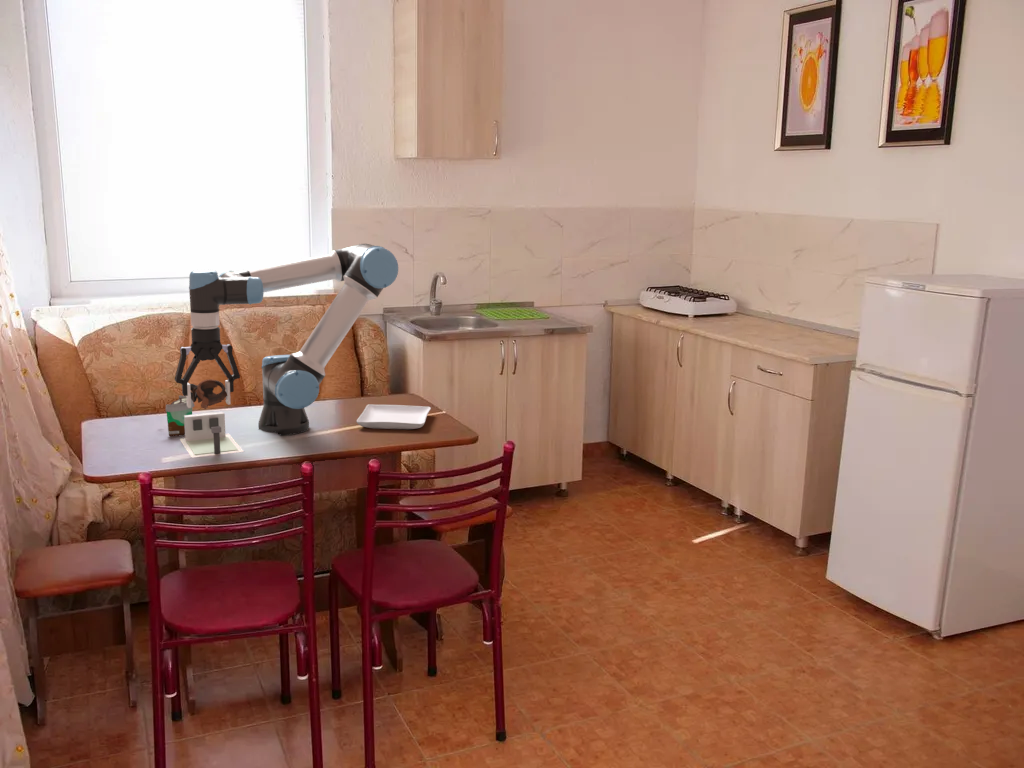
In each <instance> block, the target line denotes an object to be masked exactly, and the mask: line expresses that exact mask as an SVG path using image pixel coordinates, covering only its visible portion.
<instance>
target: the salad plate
mask: <svg viewBox="0 0 1024 768" xmlns="http://www.w3.org/2000/svg"><path fill="white" fill-rule="evenodd" d="M431 409H432V407H430V406H424V405H423V406H421V405H407V404H406V405H403V404H366V406H365V407H364V409H363V411H362V413H360V415H359V417H358V418H357V419H356V423H357V424H358V425H359V426H360V427H363V428H368V429H379V430H380V429H383V430H384V429H385V430H386V429H388V430H389V429H390V430H416V429H420V428H422V427H423V426H424V425H425V423H426V420H427V417H428V415H429V413H430V411H431Z"/></svg>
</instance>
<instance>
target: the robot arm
mask: <svg viewBox="0 0 1024 768" xmlns="http://www.w3.org/2000/svg"><path fill="white" fill-rule="evenodd" d="M398 263H399V262H398V260H397V258H396V256H395V254H393V253H392V252H391V251H390V250H388V249H387V248H385V247H383V246H380V245H374V244H371V243H359V244H355V245H351V246H347V247H342V248H338V249H334V250H331V251H330V253H329V254H324V255H320V256H313V257H308V258H303V259H302V258H301V259H298V260H291V261H286V262H282V263H277V264H276V263H275V264H268V265H263V266H258V267H253V268H247V269H242V270H236V271H234V270H227V271H224V272H222V273H220V274H219V273H218V272H217V271H216V270H213V269H210V270H209V269H197V270H193V271H191V272H190V273H189V277H188V278H189V280H188V281H189V282H188V283H189V285H188V290H189V306H190V324H191V325H190V326H192V327H191V328H190V329H191V344H190V346H181V347H179V352H180V357H179V360H178V364H177V368H176V370H175V371H176V372H175V375H174V381H175V382H176V383H177V384H181V392H182V393H181V394H182V396H186V398H187V407H188V408H191V392H192V391H191V389H190V384H191V383H189V382H190V380H191V378H192V375H193V373H195V370H196V368H197V367H198V365H199V364H200V362H201V361H203V362H204V361H214V360H215V361H216V363H217V365H218V366H219V367H220V369H221V371H222V372H223V374H224V375H225V377H226V378H227V379H226V380H224V386H225V391H226V393H227V396H226V397H225V403H226V404H227V405H231V404H232V403H231V393H234V390H235V387H234V382H235V380H239V379H240V378H241V375H240V372H239V369H238V365H237V363H236V360H235V357H234V355H233V346H232V345H231V344H230V343H227V344H222V342H221V329H220V328H221V327H219V326H220V324H221V323H220V322H221V321H220V306H222V305H223V306H225V305H255V304H261V303H262V302H263V299H264V293H267V292H273V291H277V290H278V291H279V290H284V289H289V288H294V287H300V286H305V285H310V284H311V285H312V284H315V283H321V282H326V281H333V280H334V281H336V282H338V283H339V282H340V283H341V282H344V284H343V286H342V287H341V288H340V290H339V291H338V293H337V294H336V296H335V298H334V299H333V300H332V302H331V303H330V305H329V306H328V308H327V309H326V311H325V312H324V314H323V315H322V317H321V318H320V320H319V322H318V323H317V324H316V326H315V327H314V329H313V330H312V332H311V333H310V335H309V336H308V338H307V339H306V341H305V342H304V344H303V345H302V347H301V348H300V350H299V351H297V352H292V353H290V354H277V355H268V356H265V357H263V358H262V360H261V374H262V396H263V398H262V400H263V405H262V410H261V413H260V417H259V419H258V430H261V431H262V432H263V431H264V432H267V433H276V434H277V435H278V436H288V435H296V434H301V433H304V432H306V431H308V430H309V429H310V420H309V418H308V415H307V412H306V409H305V408H307V407H309V406H311V405H312V404H313V403H314V402H315V401H316V399H317V398H318V396H319V393H320V385H321V383H322V381H323V379H325V376H326V372H325V367H326V365H327V364H328V363H329V361H330V360H331V358H332V357H333V355H334V354H335V352H336V351H337V349H338V347H340V345H341V343H342V341H343V340H344V339H345V337H346V336H347V334H348V333H349V331H350V330H351V328H352V327H353V325H354V323H356V321H357V319H358V318H359V316H360V315H361V313H362V312H363V310H364V309H365V307H366V305H367V304H368V302H369V301H371V300H377V298H378V297H379V296H380V295H381V292H382V291H383V290H384V288H389V287H390V286H391V285H392V284H393V283H394V282H395V281H396V279H397V278H398V276H399V275H398V274H399V264H398ZM222 350H223V351H224V352H225V353H226V356H227V359H228V361H229V362H228V363H229V364H230V368H231V371H232V374H231V373H230V371H229V369H228V368H227V366H226V365H225V363H224V362H223V360H222V358H221V357H220V356H219V354H220V353H221V351H222ZM190 352H192V354H193V355H194V356H193V357H192V360H191V362H190V363H189V365H188V368H187V370H186V371H185V373H184V368H185V366H186V361H187V357H188V355H190ZM183 373H184V375H183Z"/></svg>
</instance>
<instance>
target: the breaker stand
mask: <svg viewBox="0 0 1024 768" xmlns="http://www.w3.org/2000/svg"><path fill="white" fill-rule="evenodd" d="M225 415H226V414H225V412H224V411H218V412H207V413H206V412H205V413H204V412H203V413H196V414H192V415H184V425H185V435H184V438H179V441H180V442H181V443H182V445H183V447H184V449H185V450H186V452H188V454H189V456H190V458H201V457H210V456H219V455H227V454H234V453H236V454H237V453H244V452H245V451H244V450H243V449H242V447H241V446H240V445H239V444H238V442H236V441H235V439H234V438H233V437H232V435H231V434H230V433H226V420H225V419H226V417H225ZM209 418H218V423H219V426H220V427H221V432H220V454H214V435H213V433H212V432H211V429H210V424H209ZM198 419H202V430H196V431H194V430H193V420H198Z"/></svg>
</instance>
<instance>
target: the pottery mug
mask: <svg viewBox="0 0 1024 768" xmlns="http://www.w3.org/2000/svg"><path fill="white" fill-rule="evenodd" d="M189 384H190V389H191V399H192V401H193V402H194V403H195V402H197V403H198V404H200V408H202V409H204V410H207V408H209V407H211V406H213V405H217V404H219V403H221V402H223V401H224V400H226V396H227V393H226V391H225V384H224V383H223V382H221V381H220V380H216V379H204V380H202V381H201V382H199V383H198V385H197V384H194V383H189ZM217 387H219V388H221V391H220V392H219V393H215V392H214V391H215V390H214V389H215V388H217Z"/></svg>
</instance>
